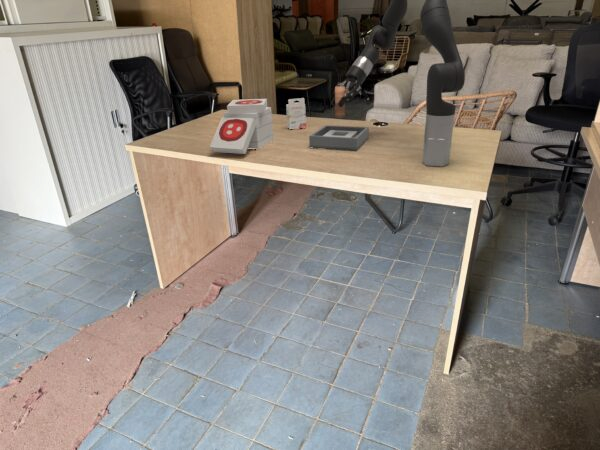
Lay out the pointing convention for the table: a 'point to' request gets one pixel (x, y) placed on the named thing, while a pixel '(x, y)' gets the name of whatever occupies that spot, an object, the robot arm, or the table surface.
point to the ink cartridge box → (296, 113)
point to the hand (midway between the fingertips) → (336, 105)
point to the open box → (339, 137)
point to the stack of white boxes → (243, 127)
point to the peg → (338, 95)
